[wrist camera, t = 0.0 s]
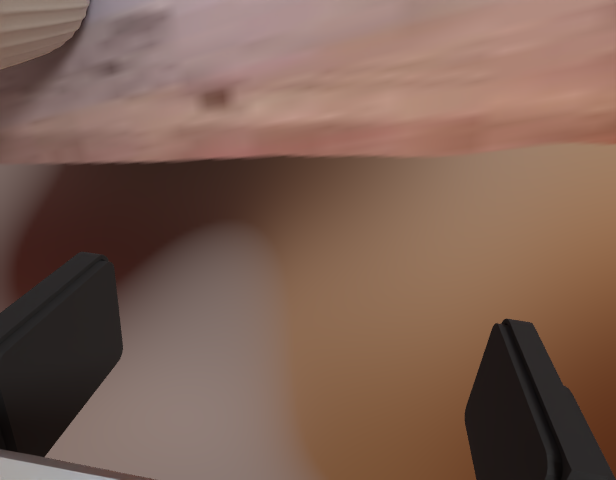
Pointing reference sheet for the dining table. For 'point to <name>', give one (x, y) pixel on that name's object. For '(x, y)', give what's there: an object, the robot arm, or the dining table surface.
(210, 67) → the dining table surface
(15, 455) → the robot arm
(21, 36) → the canister
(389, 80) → the dining table surface
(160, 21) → the dining table surface
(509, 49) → the dining table surface
